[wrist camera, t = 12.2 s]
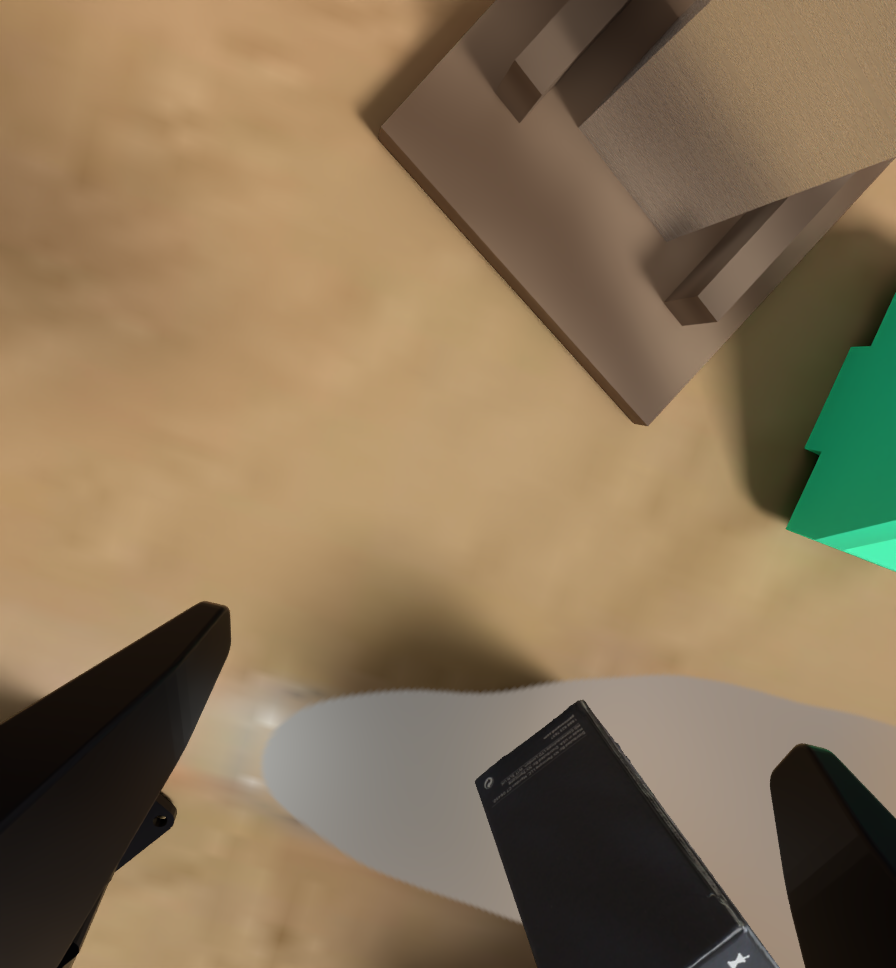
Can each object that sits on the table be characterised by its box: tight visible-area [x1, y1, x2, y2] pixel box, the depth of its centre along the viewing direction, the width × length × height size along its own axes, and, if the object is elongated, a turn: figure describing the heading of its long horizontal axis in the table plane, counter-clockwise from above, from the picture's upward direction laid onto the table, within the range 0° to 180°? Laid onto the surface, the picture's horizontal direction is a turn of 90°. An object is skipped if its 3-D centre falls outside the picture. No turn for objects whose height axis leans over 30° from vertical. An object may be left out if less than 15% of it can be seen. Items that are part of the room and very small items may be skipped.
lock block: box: [579, 0, 896, 242], centre depth 14 cm, size 5×5×12 cm
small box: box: [475, 700, 780, 968], centre depth 21 cm, size 11×6×10 cm, turn 35°
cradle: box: [378, 0, 896, 426], centre depth 19 cm, size 15×14×3 cm
